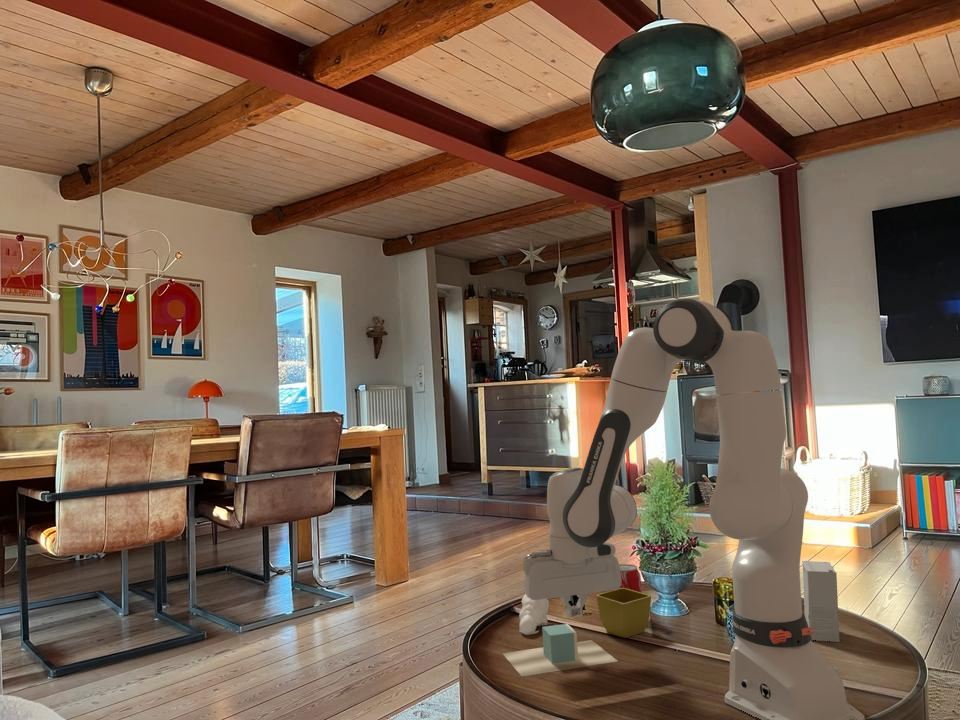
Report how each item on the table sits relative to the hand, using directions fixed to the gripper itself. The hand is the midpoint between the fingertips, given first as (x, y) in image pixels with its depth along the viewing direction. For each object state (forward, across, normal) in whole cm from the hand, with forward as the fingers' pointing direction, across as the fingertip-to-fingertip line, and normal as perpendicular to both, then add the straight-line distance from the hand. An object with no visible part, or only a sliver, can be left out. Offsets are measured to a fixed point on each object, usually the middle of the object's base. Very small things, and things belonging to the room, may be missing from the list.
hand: (574, 616), depth 146 cm
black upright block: (+10, +13, +31) cm, 35 cm away
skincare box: (+9, +53, -8) cm, 54 cm away
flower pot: (+9, +15, +8) cm, 19 cm away
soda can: (+9, +21, +19) cm, 30 cm away
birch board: (+9, -4, 0) cm, 10 cm away
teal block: (+5, -1, 0) cm, 5 cm away
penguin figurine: (+9, -3, +20) cm, 22 cm away
